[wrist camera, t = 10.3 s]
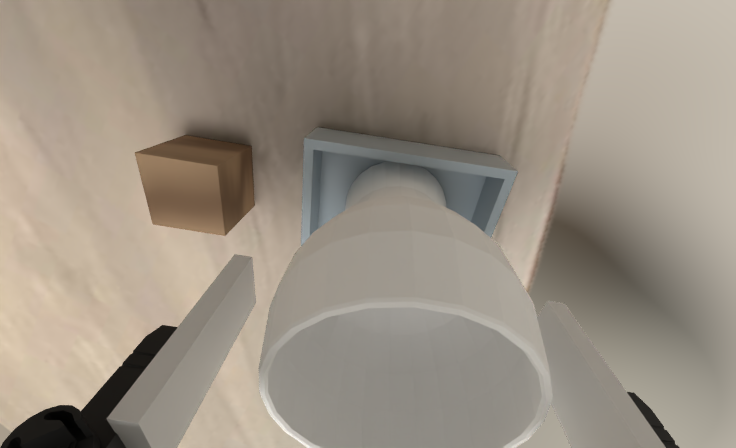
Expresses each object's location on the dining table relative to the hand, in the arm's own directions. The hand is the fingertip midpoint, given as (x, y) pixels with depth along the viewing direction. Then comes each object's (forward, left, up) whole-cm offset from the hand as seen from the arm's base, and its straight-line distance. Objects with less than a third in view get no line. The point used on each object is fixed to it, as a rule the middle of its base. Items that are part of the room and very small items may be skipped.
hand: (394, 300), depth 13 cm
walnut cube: (0, -14, -11) cm, 18 cm away
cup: (0, 0, -11) cm, 11 cm away
